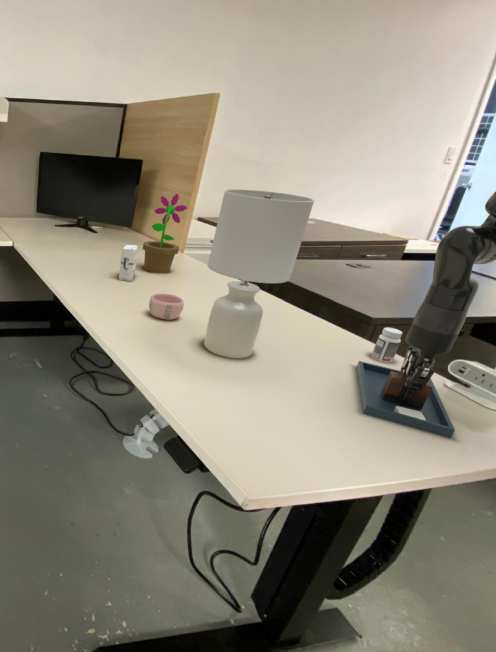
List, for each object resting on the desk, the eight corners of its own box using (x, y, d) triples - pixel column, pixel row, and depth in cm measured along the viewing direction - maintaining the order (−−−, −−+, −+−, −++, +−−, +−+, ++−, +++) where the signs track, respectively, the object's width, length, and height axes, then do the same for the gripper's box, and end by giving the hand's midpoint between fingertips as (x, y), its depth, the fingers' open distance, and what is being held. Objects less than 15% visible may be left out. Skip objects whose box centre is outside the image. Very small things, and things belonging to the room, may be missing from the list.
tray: (355, 368, 117) (358, 360, 116) (427, 385, 111) (430, 378, 110) (362, 414, 97) (366, 405, 96) (450, 439, 91) (455, 430, 90)
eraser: (418, 402, 102) (429, 380, 99) (421, 409, 99) (432, 387, 97) (380, 392, 105) (390, 370, 102) (382, 399, 102) (392, 377, 100)
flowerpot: (178, 270, 193) (193, 195, 181) (168, 277, 182) (184, 198, 169) (145, 263, 200) (158, 190, 187) (133, 270, 188) (146, 193, 176)
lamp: (229, 332, 133) (267, 190, 117) (282, 362, 118) (334, 202, 101) (175, 338, 127) (207, 188, 111) (222, 370, 111) (268, 200, 95)
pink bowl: (184, 323, 137) (188, 305, 135) (151, 321, 137) (154, 302, 135) (173, 309, 148) (177, 291, 146) (142, 307, 148) (145, 289, 146)
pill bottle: (393, 359, 124) (406, 331, 120) (390, 365, 121) (403, 335, 117) (372, 353, 127) (384, 325, 123) (369, 358, 123) (381, 329, 120)
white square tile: (418, 416, 96) (421, 411, 96) (424, 426, 93) (426, 421, 93) (393, 410, 98) (396, 405, 97) (398, 419, 95) (400, 414, 94)
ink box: (121, 274, 182) (126, 243, 177) (134, 276, 180) (139, 245, 175) (117, 279, 174) (122, 248, 169) (130, 281, 173) (136, 250, 168)
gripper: (468, 342, 87) (429, 419, 94) (451, 319, 98) (417, 390, 106) (419, 332, 90) (385, 407, 97) (408, 311, 102) (378, 380, 109)
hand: (402, 397), depth 101 cm, fingers closed on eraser, 3 cm apart
